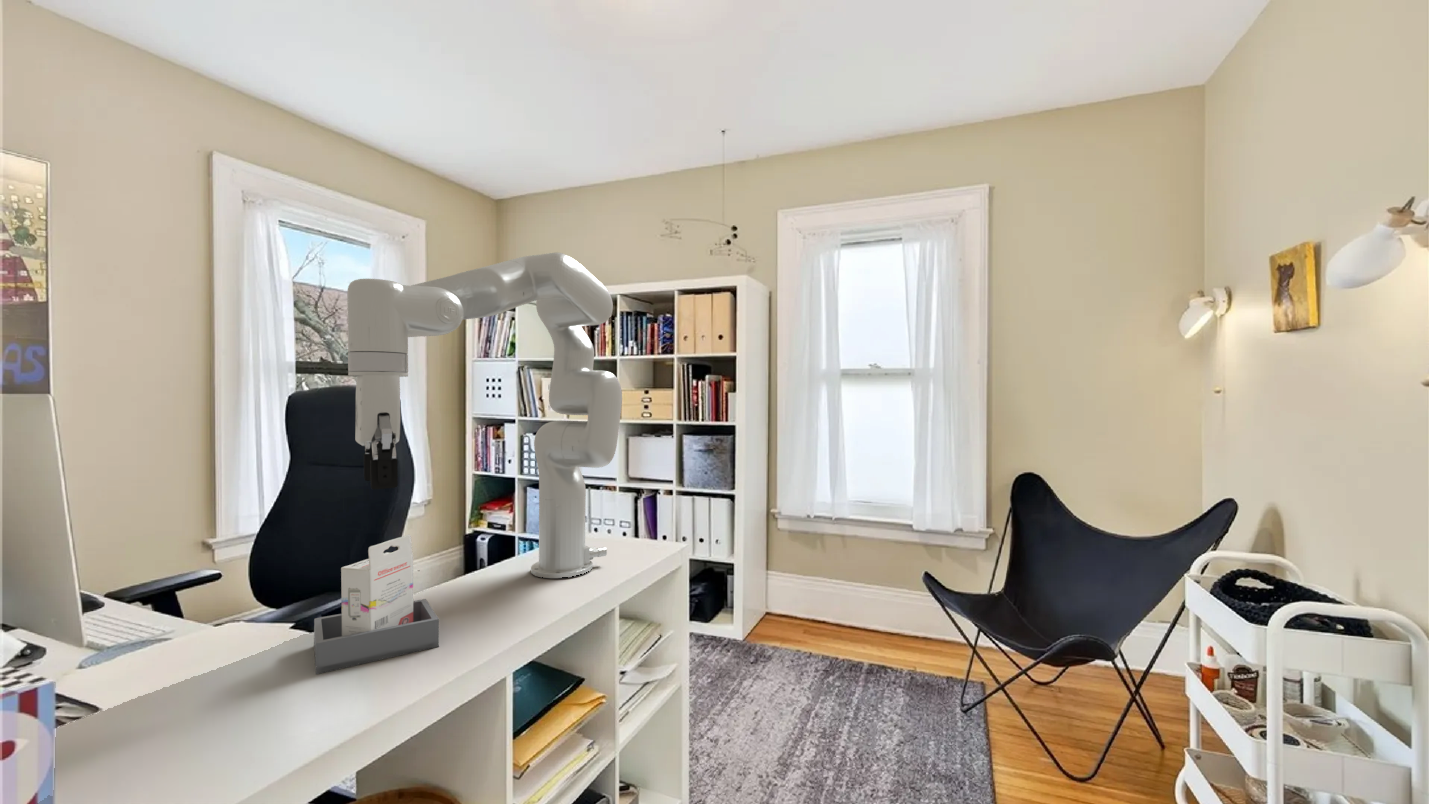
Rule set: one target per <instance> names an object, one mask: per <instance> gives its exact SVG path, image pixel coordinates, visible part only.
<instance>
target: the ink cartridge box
mask: <svg viewBox="0 0 1429 804" xmlns="http://www.w3.org/2000/svg"><path fill="white" fill-rule="evenodd" d="M412 545H413V543H412V537H411V534H406V535H403V536H399V537H396V538H392V539H389V540H386V541H384V542H383V541H382V542H381V543H377V544H374V545H370V546H369V547H368V550H367V553H368V558H366V559H363V560H360V561H357V562H354V563H351V564H349V565H345V566H342V567H341V568H340V572H341V573H340V576H341V578H340V580H341V581H340V582H341V587H340V589H341V591H340V592H341V595H340V596H341V614H342V636H346V635H351V634H356V633H361V632H366V631H371V630H376V629H381V628H386V627H392V626H397V625H402V624H407V623H412V622H413V601H414V553H413V547H412ZM390 547H393V548H395V547H397V550H394V551H393V552H387V551H386V550H389V548H390ZM385 551H386V552H385Z"/></svg>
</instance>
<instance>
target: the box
mask: <svg viewBox="0 0 1429 804" xmlns="http://www.w3.org/2000/svg"><path fill="white" fill-rule="evenodd" d="M313 623H314V626H313V632H314V633H313V637H314V638H313V650H314V665H315V675H319V674H323V673H327V672H332V671H336V670H341V669H345V668H349V667H354V666H355V667H356V666H358V665H363V664H368V663H372V662H376V661H380V660H381V661H382V660H384V659H385V660H387V659H390V658H394V657H399V656H402V655H408V654H412V653H417V652H421V651H426V650H430V649H435V648H439V647H440V646H439V645H440V643H439V642H440V637H439V635H440V631H439V630H440V619H439V617H438V616H437V614H436V612H435V611H434V609H433V608H432V606H431V605H430V603H429V602H428V600H427V598H423V599H417V600H413V622H412V623H407V624H402V625H397V626H392V627H386V628H381V629H376V630H371V631H366V632H361V633H356V634H351V635H346V636H342V613H338V614H332V615H327V616H321V617H317V618H314V620H313Z"/></svg>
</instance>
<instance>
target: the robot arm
mask: <svg viewBox="0 0 1429 804" xmlns="http://www.w3.org/2000/svg"><path fill="white" fill-rule="evenodd" d="M346 300H347V301H346V303H347V352H348V353H347V357H348V358H347V364H348V365H347V370H348V371H347V372H348V374H347V375H348V377H356V384H355V385H356V386H355V433H354V434H355V437H354V438H355V442H356V443H357V444H359V445H361V446H362V447H364V452H365V453H364V454H363V479H364V481H365V482H366V481H367V482H368V481H369V482H370V488H371V490H384V489H385V490H386V489H396V488H397V487H398V482H399V481H398V479H399V476H398V473H399V472H398V470H399V469H398V458H397V450H396V444H397V443H399V442H400V436H401V383H400V380H401V379H400V378H404V377H405V378H407V377H409V338H416V337H419V338H420V337H424V338H425V337H438V336H444V335H448V334H450V333H452V332H454V331H455V330H457V329H458V328H459V327H460V326H461V324H462V322H463V320H473V319H475V320H476V319H481V318H483V319H484V318H488V317H491V316H496V315H500V314H502V313H505V312H508V311H511V310H513V309H515V308H518V307H521V306H524V305H526V304H529V303H532V302H535V301H536V304H535V307H536V312H537V315H538V317H539V319H540V320H541V322H542V323H543V325H544V327H545V328H546V330H547V332H548V333H549V335H550V337H551V339H552V340H551V341H552V343H553V351H554V352H553V360H552V361H553V363H552V367H551V368H552V369H551V376H550V382H549V383H550V384H549V391H548V403H549V406H550V408H551V410H553V411H554V412H555V413H558V414H560V415H569V416H587V421H586V420H581V421H580V420H552V421H549V422H545V423H544V424H543V425H542V426H540V428H539V429H538V430H537V431H536V434H535V435H534V440H533V441H534V442H533V444H534V445H533V446H534V454H535V459H536V465H537V471H538V497H539V499H538V500H539V501H538V513H539V514H538V561H537V562H535V563H533V564H532V565H531V566H530V573H531V574H532V575H533V576H535V577H539V578H542V577H543V578H544V579H563V578H562V577H568V578H573V577H572V576H574V577H577V576H576V575H579V576H581V575H580V574H582V575H585V574H587V573H589V572H591V571H592V570H593V562H592V561H591V560H593V559H594V558H601V557H606V556H607V554H608V549H607V547H605V546H602V547H596V546H590V547H589V546H587V545H586V493H587V492H586V481H585V479H584V477H583V474H582V472H581V470H580V468H592V469H593V468H595V469H597V468H603V467H606V466H608V465H609V464H610V463H611V462H612V460H613V459H614V457H615V454H616V452H617V445H618V438H619V432H620V431H619V429H620V422H621V415H622V413H621V412H622V406H623V405H622V404H623V391H622V386H621V383H620V381H619V379H618V378H617V376H616V375H615V374H614V373H613V372H611V371H609V370H608V371H607V370H601V369H600V370H599V369H597V370H596V369H594V362H595V361H594V360H595V349H594V348H595V347H594V344H593V343H592V341H591V339H590V337H589V335H588V334H587V333H586V332H585V330H584V329H583V327H585V326H598V325H602V324H604V323H606V322H607V321H608V320H609V319H610V318H611V316H612V314H613V309H614V305H613V304H614V302H613V299H612V296H611V293H610V292H609V290H608V289H607V287H606V286H605V285H604V284H603V283H602V282H601V281H600V280H598V278H597V277H595V276H594V275H593V274H592V273H591V272H590V271H589V270H588V269H586V267H585V266H583V265H582V264H581V263H579V262H578V261H577V260H576V259H574V258H573V257H572V256H569V255H568V254H565V253H563V252H558V251H557V252H549V253H542V254H534V255H525V256H520V257H516V258H513V259H512V258H511V259H509V260H506V261H505V260H504V261H502V262H497V263H494V264H490V265H486V266H482V267H479V268H475V269H470V270H465V271H463V272H462V271H461V272H459V273H455V274H452V275H448V276H444V277H440V278H436V279H432V280H428V281H422V282H420V283H415V284H412V285H407V284H406V285H405V284H401V283H399V282H396V281H393V280H388V279H381V278H358V279H354V280H352V281H351V282H350V283H349V285H348V286H347V299H346ZM591 569H592V570H591ZM588 571H589V572H588ZM586 572H587V573H586ZM584 573H585V574H584Z"/></svg>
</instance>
